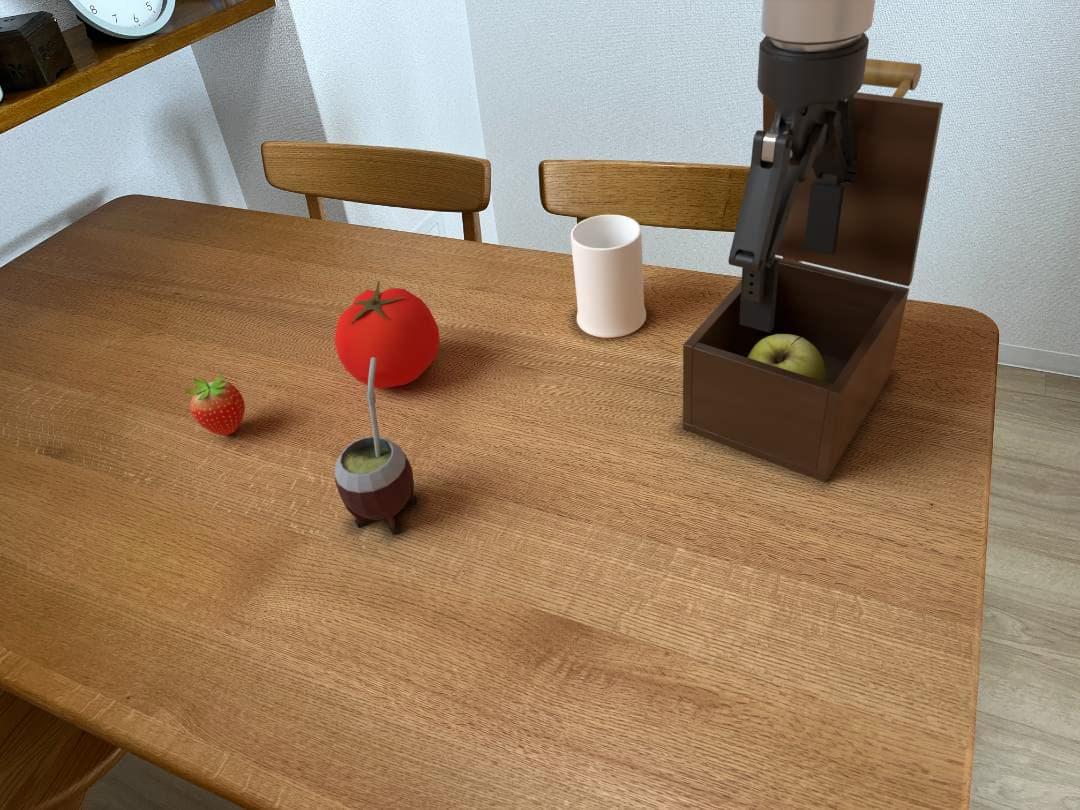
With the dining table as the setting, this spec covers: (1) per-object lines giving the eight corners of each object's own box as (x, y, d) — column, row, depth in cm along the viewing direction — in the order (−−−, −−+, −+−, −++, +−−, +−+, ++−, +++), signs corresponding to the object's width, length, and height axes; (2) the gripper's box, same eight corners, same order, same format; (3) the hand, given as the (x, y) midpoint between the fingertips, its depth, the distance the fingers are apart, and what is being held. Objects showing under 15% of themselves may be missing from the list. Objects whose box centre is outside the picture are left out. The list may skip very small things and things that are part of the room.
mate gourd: (362, 551, 76) (315, 436, 66) (341, 498, 81) (295, 384, 72) (436, 520, 78) (401, 403, 68) (410, 469, 83) (375, 355, 73)
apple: (799, 363, 86) (820, 304, 77) (825, 427, 82) (850, 372, 73) (726, 376, 86) (739, 318, 77) (748, 440, 81) (764, 387, 73)
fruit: (240, 411, 94) (214, 357, 89) (263, 429, 91) (238, 374, 86) (199, 437, 91) (169, 382, 86) (221, 456, 88) (193, 401, 83)
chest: (825, 482, 76) (840, 394, 69) (682, 429, 83) (682, 344, 76) (890, 375, 86) (909, 288, 79) (757, 336, 93) (764, 253, 86)
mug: (599, 280, 106) (593, 197, 98) (662, 289, 103) (661, 203, 95) (566, 332, 98) (556, 246, 90) (633, 343, 95) (629, 254, 87)
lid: (939, 108, 64) (977, 48, 69) (762, 85, 72) (806, 33, 76) (908, 286, 78) (941, 227, 82) (763, 252, 86) (800, 199, 90)
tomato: (421, 333, 102) (401, 256, 94) (464, 378, 94) (446, 298, 86) (333, 372, 97) (305, 295, 90) (370, 422, 90) (343, 342, 82)
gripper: (829, -18, 67) (805, 215, 80) (682, 90, 53) (683, 350, 66) (924, -13, 63) (881, 230, 77) (793, 104, 49) (770, 377, 62)
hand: (789, 286), depth 71 cm, fingers open, 13 cm apart
